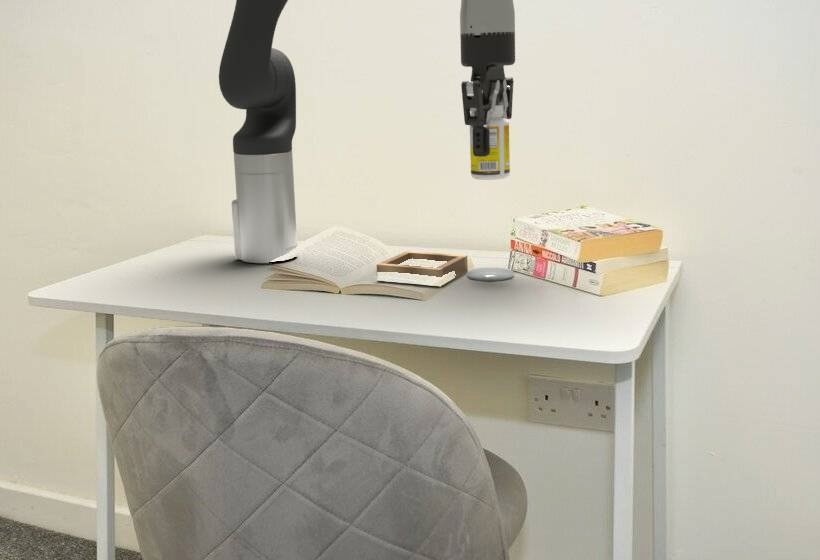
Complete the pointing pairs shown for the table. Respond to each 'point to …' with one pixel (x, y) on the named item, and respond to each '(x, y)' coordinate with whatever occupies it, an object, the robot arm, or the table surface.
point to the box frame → (453, 264)
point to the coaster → (490, 274)
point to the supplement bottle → (493, 150)
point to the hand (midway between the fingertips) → (489, 153)
